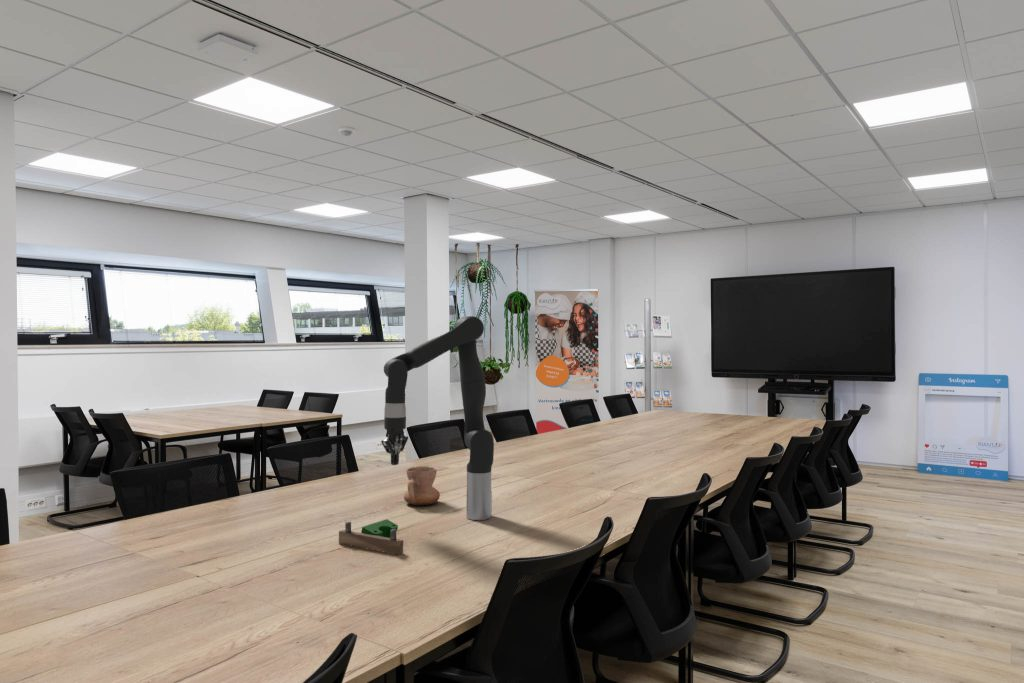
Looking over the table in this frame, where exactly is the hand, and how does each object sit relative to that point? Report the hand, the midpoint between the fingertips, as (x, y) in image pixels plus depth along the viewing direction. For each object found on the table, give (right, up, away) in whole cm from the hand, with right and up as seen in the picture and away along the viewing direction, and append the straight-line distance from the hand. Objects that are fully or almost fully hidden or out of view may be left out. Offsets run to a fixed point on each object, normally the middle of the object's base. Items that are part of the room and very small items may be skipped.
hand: (394, 464), depth 228 cm
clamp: (-2, -22, -17) cm, 28 cm away
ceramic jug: (+5, -23, +33) cm, 41 cm away
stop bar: (-3, -22, -24) cm, 33 cm away
